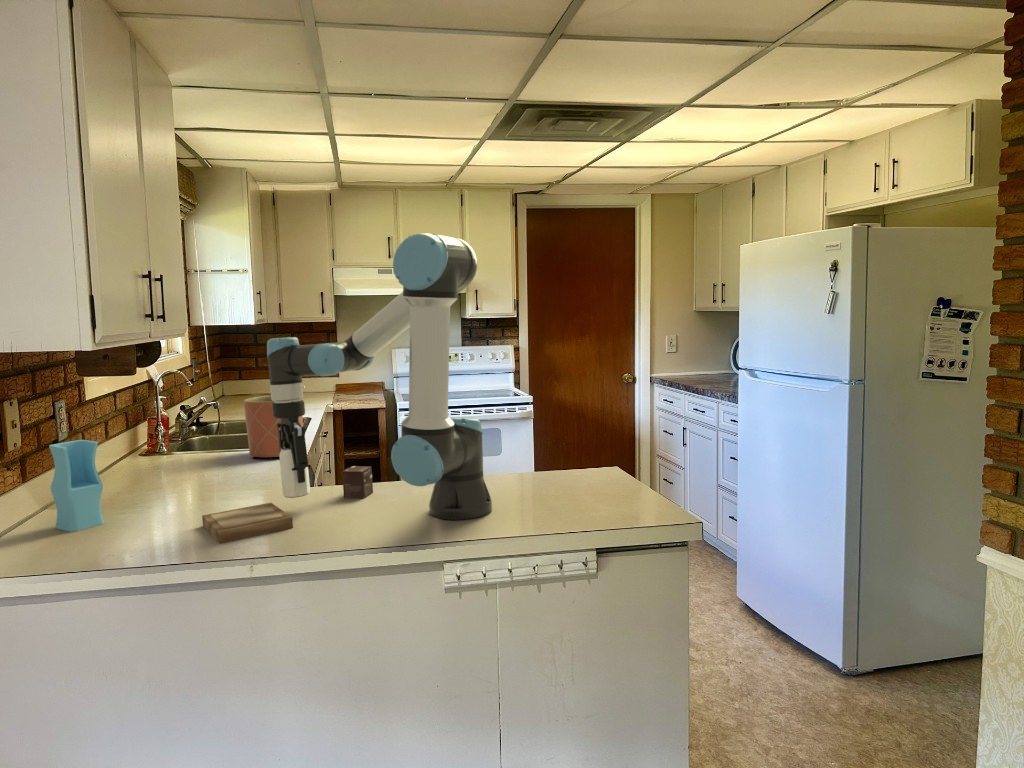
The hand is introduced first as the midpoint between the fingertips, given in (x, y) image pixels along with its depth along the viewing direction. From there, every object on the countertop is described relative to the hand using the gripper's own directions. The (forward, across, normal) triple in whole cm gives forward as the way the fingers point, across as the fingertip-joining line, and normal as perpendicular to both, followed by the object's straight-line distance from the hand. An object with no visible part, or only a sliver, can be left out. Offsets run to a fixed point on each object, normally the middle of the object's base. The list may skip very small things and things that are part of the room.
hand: (296, 492), depth 172 cm
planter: (+3, +74, -18) cm, 76 cm away
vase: (+4, +25, +44) cm, 51 cm away
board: (+5, -4, +13) cm, 15 cm away
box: (+5, +4, -18) cm, 19 cm away
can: (+1, 0, 0) cm, 1 cm away
